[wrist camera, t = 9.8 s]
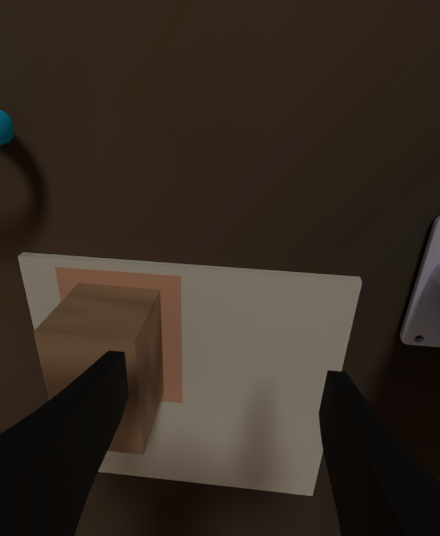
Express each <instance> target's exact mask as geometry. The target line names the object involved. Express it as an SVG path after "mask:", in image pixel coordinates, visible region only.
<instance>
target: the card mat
mask: <svg viewBox="0 0 440 536" xmlns="http://www.w3.org/2000/svg"><path fill="white" fill-rule="evenodd" d="M18 260H19V264H20V269H21V273H22V278H23V282H24V287H25V291H26V295H27V300H28V304H29V309H30V313H31V318H32V322H33V327H34V330H35V329H36V328H37V327H38V326H39V325H40V324H41V323H42V322H43V321H44V320H45V319H46V317H47V316H48V315H49V314H50V313H51V312H52V311H53V310H54V309H55V308H56V307H57V306H58V305H59V303H60V302H61V301H62V300H63V299H64V298H65V297H66V296H67V295H68V294H69V293H70V292H71V290H72V289H73V288H74V287H75V286H76V285H77V284H78V283H87V284H99V285H112V286H124V287H136V288H148V289H160V300H161V328H162V355H163V382H164V392H163V395H162V398H161V401H160V404H159V408H158V411H157V414H156V417H155V420H154V423H153V427H152V430H151V433H150V436H149V439H148V443H147V446H146V449H145V452H144V455H140V454H131V453H122V452H113V451H107V453H106V455H105V457H104V460H103V462H102V464H101V466H100V468H99V471H98V472H106V473H115V474H123V475H132V476H141V477H150V478H159V479H168V480H176V481H185V482H194V483H203V484H212V485H220V486H229V487H238V488H247V489H256V490H265V491H273V492H282V493H291V494H300V495H309V496H313V491H314V487H315V483H316V479H317V474H318V470H319V466H320V461H321V457H322V453H323V446H322V441H321V432H320V423H319V409H320V404H321V399H322V395H323V390H324V385H325V380H326V376H327V371H328V370H331V371H342V366H343V362H344V358H345V353H346V349H347V345H348V340H349V336H350V332H351V327H352V323H353V319H354V314H355V310H356V306H357V301H358V297H359V293H360V288H361V284H362V281H361V279H360V277H355V276H341V275H328V274H314V273H300V272H286V271H273V270H259V269H245V268H232V267H218V266H204V265H190V264H177V263H163V262H149V261H135V260H122V259H108V258H94V257H80V256H67V255H53V254H39V253H26V252H23V253H22V254H20V255H19V256H18Z"/></svg>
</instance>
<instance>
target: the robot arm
mask: <svg viewBox="0 0 440 536" xmlns="http://www.w3.org/2000/svg"><path fill="white" fill-rule="evenodd" d="M419 335H421V336H420V337H419V338H417V339H415V337H416V336H419ZM400 339H401V340H402V342H403V343H404V344H407V345H418V346H430V347H440V216H439V217H438V218H437V219H436V220H435V221H434V223H433V226H432V229H431V233H430V236H429V239H428V243H427V246H426V249H425V252H424V256H423V259H422V262H421V266H420V269H419V272H418V276H417V279H416V282H415V285H414V289H413V292H412V295H411V299H410V302H409V305H408V308H407V312H406V315H405V318H404V322H403V325H402V328H401V332H400ZM128 396H129V390H128V380H127V370H126V359H125V352H120V351H109V350H108V351H107V352H106V353H105V354H104V355H102V356H101V357H100V358H99V359H98V360H97V361H96V362H94V363H93V364H92V365H91V366H90V367H89V368H88V369H87V370H85V371H84V372H83V373H82V374H81V375H80V376H79V377H77V378H76V379H75V380H74V381H73V382H71V383H70V384H69V385H68V386H67V387H66V388H64V389H63V390H62V391H61V392H59V393H58V394H57V395H56V396H54V397H53V398H52V399H50V400H49V401H48V402H46V403H45V404H44V405H43V406H41V407H40V408H39V409H37V410H36V411H34V412H33V413H32V414H30V415H29V416H27V417H26V418H24V419H23V420H21V421H20V422H18V423H17V424H15V425H14V426H12V427H10V428H9V429H7V430H5V431H4V432H2V433H0V536H74V535H75V532H76V528H77V525H78V523H79V520H80V517H81V514H82V511H83V508H84V505H85V502H86V499H87V497H88V494H89V491H90V489H91V487H92V484H93V482H94V479H95V477H96V475H97V473H98V471H99V468H100V466H101V464H102V462H103V460H104V457H105V455H106V453H107V451H108V449H109V446H110V444H111V442H112V440H113V437H114V435H115V433H116V431H117V429H118V426H119V424H120V422H121V419H122V416H123V412H124V409H125V406H126V403H127V399H128ZM319 423H320V432H321V441H322V446H323V451H324V455H325V460H326V464H327V469H328V473H329V477H330V482H331V486H332V491H333V495H334V499H335V504H336V508H337V513H338V519H339V524H340V531H341V536H440V482H439V481H438V480H436V479H435V478H434V477H433V476H432V475H431V474H430V473H429V472H428V471H427V470H426V469H425V468H424V467H423V466H422V465H421V464H420V463H419V462H418V461H417V460H416V459H415V458H414V457H413V456H412V455H411V454H410V453H409V452H408V450H407V449H406V448H405V447H404V446H403V445H402V444H401V443H400V442H399V440H398V439H397V438H396V437H395V436H394V435H393V433H392V432H391V431H390V430H389V429H388V427H387V426H386V425H385V424H384V423H383V421H382V420H381V419H380V417H379V416H378V415H377V414H376V412H375V411H374V410H373V409H372V407H371V406H370V405H369V403H368V402H367V401H366V399H365V398H364V396H363V395H362V394H361V392H360V391H359V390H358V388H357V387H356V385H355V384H354V383H353V381H352V380H351V378H350V377H349V375H348V374H347V373H346V372H342V371H331V370H328V371H327V376H326V380H325V385H324V390H323V395H322V399H321V404H320V409H319Z"/></svg>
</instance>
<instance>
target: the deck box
mask: <svg viewBox="0 0 440 536" xmlns="http://www.w3.org/2000/svg"><path fill="white" fill-rule="evenodd" d="M34 336H35V341H36V345H37V350H38V354H39V359H40V363H41V368H42V372H43V377H44V381H45V386H46V390H47V395H48V399H49V400H50V399H52V398H53V397H54V396H56V395H57V394H58V393H59V392H61V391H62V390H63V389H64V388H66V387H67V386H68V385H69V384H70V383H71V382H73V381H74V380H75V379H76V378H77V377H79V376H80V375H81V374H82V373H83V372H84V371H85V370H87V369H88V368H89V367H90V366H91V365H92V364H93V363H94V362H96V361H97V360H98V359H99V358H100V357H101V356H102V355H104V354H105V353H106V352H107V351H108V350H109V351H120V352H125V359H126V370H127V380H128V390H129V396H128V399H127V403H126V406H125V409H124V412H123V416H122V419H121V422H120V424H119V426H118V429H117V431H116V433H115V435H114V437H113V440H112V442H111V444H110V446H109V449H108V451H113V452H122V453H131V454H140V455H144V452H145V449H146V446H147V443H148V439H149V436H150V433H151V430H152V427H153V423H154V420H155V417H156V414H157V411H158V408H159V404H160V401H161V398H162V395H163V392H164V382H163V355H162V328H161V300H160V289H148V288H136V287H124V286H112V285H99V284H87V283H78V284H77V285H76V286H75V287H74V288H73V289H72V290H71V292H70V293H69V294H68V295H67V296H66V297H65V298H64V299H63V300H62V301H61V302H60V303H59V305H58V306H57V307H56V308H55V309H54V310H53V311H52V312H51V313H50V314H49V315H48V316H47V317H46V319H45V320H44V321H43V322H42V323H41V324H40V325H39V326H38V327H37V328H36V329H35V330H34Z"/></svg>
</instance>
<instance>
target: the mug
mask: <svg viewBox="0 0 440 536" xmlns="http://www.w3.org/2000/svg"><path fill="white" fill-rule="evenodd" d="M13 136H14V127H13V122H12V120H11V118H10V116H9V115H8V114H7V113H6V112H4V111H2V110H0V146H1V145H3V144H6V143H8V142H10V141H11V140H12V138H13Z"/></svg>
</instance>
